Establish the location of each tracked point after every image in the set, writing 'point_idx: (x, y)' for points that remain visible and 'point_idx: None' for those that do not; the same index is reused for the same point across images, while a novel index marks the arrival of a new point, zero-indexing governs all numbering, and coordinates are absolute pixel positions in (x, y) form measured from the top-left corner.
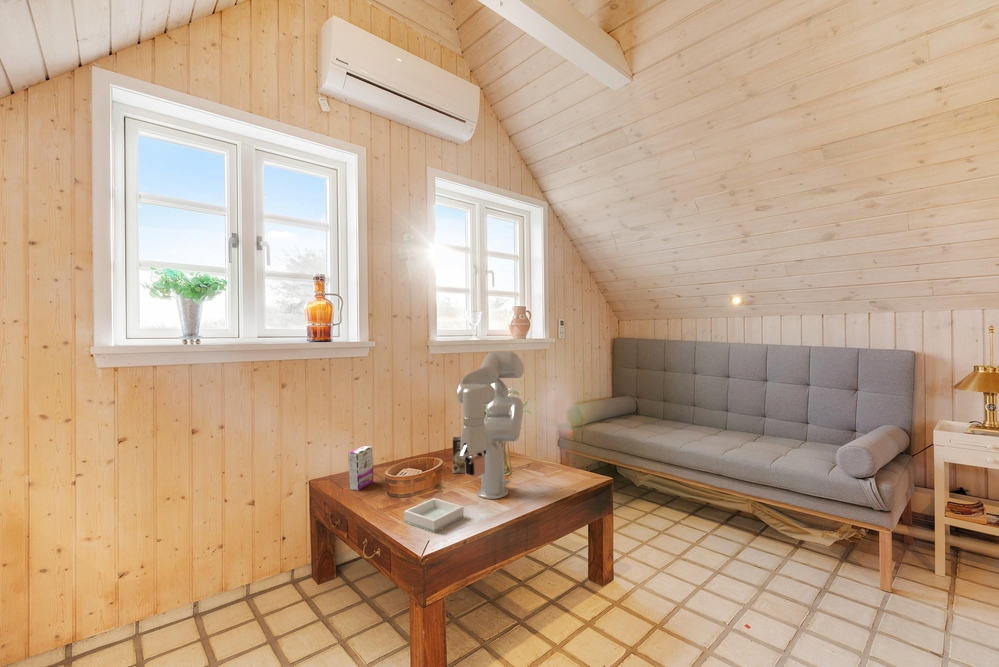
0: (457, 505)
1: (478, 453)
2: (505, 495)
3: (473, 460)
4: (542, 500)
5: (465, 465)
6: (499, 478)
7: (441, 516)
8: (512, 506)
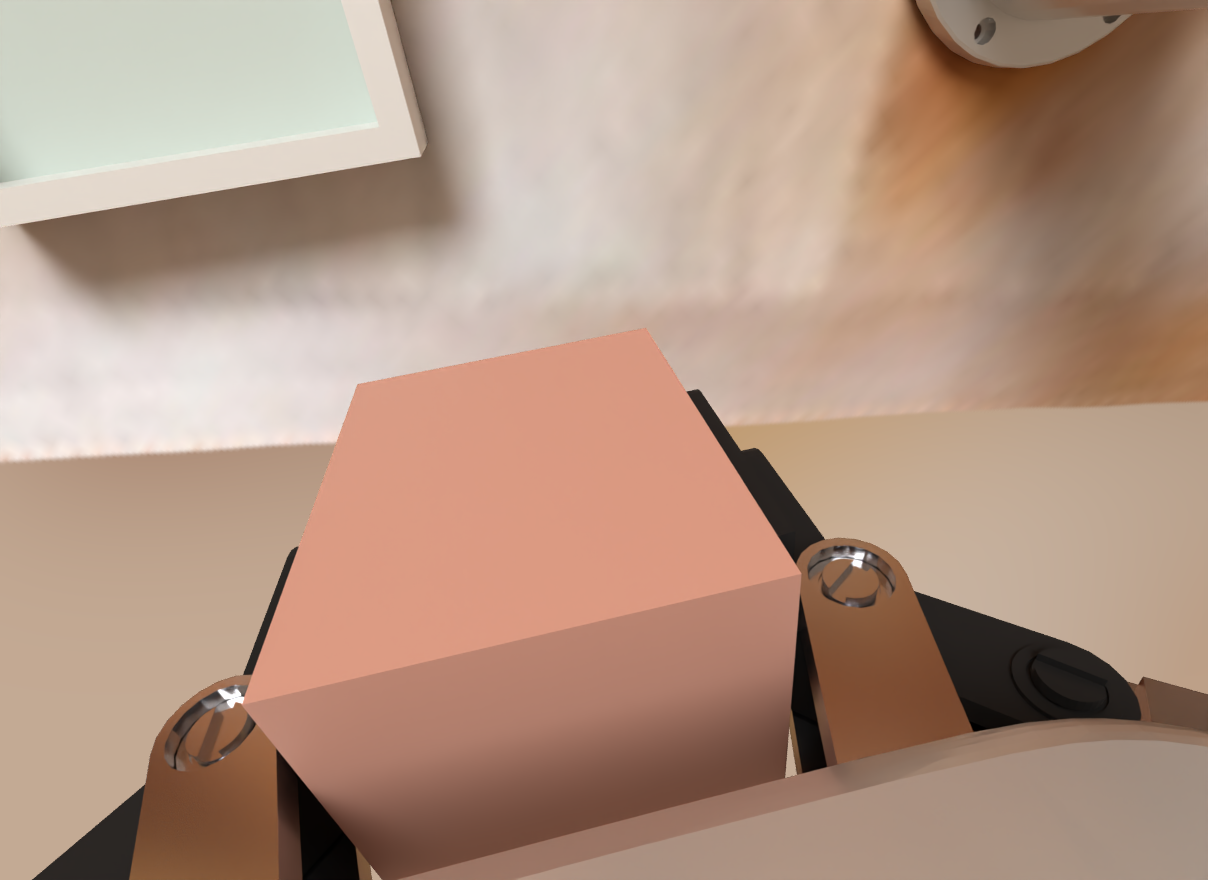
0: (380, 69)
1: (871, 708)
2: (1032, 65)
3: (395, 868)
4: (1037, 351)
5: (316, 520)
6: (1185, 7)
7: (57, 197)
8: (857, 279)
